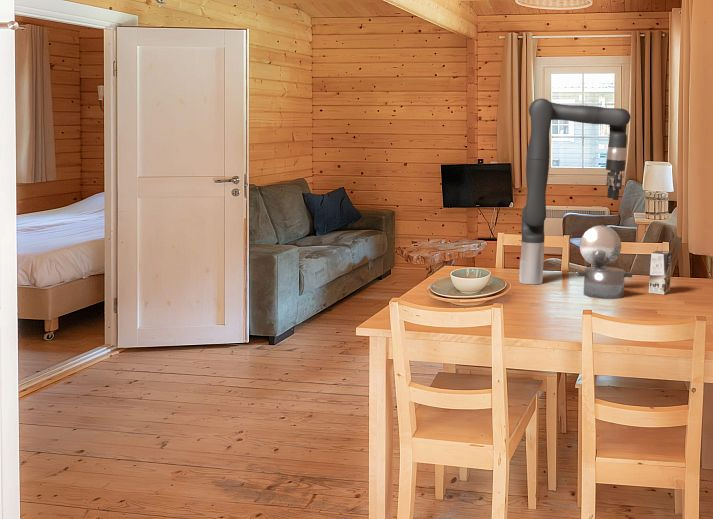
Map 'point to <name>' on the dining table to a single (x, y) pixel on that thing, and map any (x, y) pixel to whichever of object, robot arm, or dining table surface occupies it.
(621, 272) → the cooker body
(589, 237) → the lid
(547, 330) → the dining table surface
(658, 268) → the coffee box
